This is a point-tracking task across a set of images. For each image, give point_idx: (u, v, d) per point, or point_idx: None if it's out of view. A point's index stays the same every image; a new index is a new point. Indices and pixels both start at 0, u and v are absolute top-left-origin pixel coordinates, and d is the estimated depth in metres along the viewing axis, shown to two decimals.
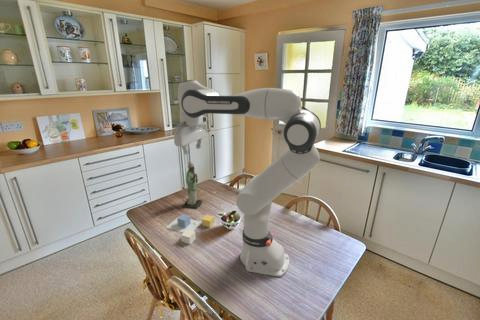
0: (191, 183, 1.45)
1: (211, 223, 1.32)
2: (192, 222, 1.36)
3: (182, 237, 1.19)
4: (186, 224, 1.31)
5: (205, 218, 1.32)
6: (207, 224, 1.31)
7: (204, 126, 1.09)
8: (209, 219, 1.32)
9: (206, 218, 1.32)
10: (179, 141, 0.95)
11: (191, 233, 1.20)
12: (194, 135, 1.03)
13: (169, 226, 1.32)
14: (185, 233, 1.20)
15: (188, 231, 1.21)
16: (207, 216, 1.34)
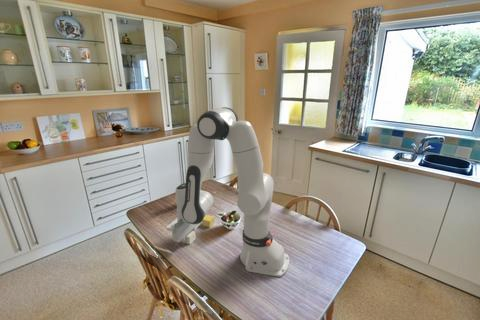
0: None
1: (211, 223, 1.32)
2: None
3: None
4: None
5: (205, 218, 1.32)
6: (207, 224, 1.31)
7: None
8: (209, 219, 1.31)
9: (206, 218, 1.32)
10: (176, 239, 1.10)
11: (191, 232, 1.20)
12: (189, 227, 1.17)
13: (169, 226, 1.32)
14: None
15: None
16: (207, 216, 1.34)
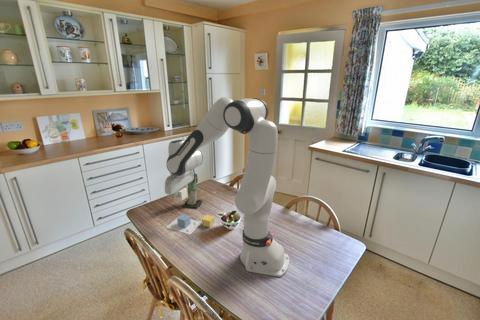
0: (191, 183, 1.45)
1: (211, 223, 1.32)
2: (192, 222, 1.36)
3: None
4: (186, 224, 1.31)
5: (205, 218, 1.32)
6: (207, 224, 1.31)
7: (191, 173, 1.29)
8: (209, 219, 1.31)
9: (206, 218, 1.32)
10: (169, 191, 1.16)
11: (183, 189, 1.26)
12: (181, 183, 1.23)
13: (169, 226, 1.32)
14: None
15: None
16: (207, 216, 1.34)
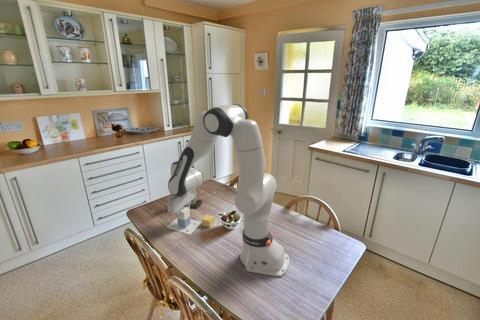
0: None
1: (211, 223, 1.32)
2: (192, 222, 1.36)
3: None
4: (186, 224, 1.31)
5: (205, 218, 1.32)
6: (207, 224, 1.31)
7: (192, 191, 1.34)
8: (209, 219, 1.31)
9: (206, 218, 1.32)
10: (171, 210, 1.20)
11: (185, 208, 1.31)
12: (184, 201, 1.27)
13: (169, 226, 1.32)
14: (180, 209, 1.30)
15: (183, 207, 1.32)
16: (207, 216, 1.34)
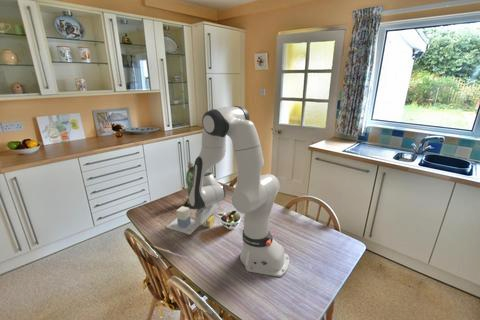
0: (191, 183, 1.45)
1: (211, 223, 1.32)
2: (192, 222, 1.36)
3: (177, 212, 1.29)
4: (186, 224, 1.31)
5: None
6: (207, 224, 1.31)
7: None
8: (209, 219, 1.31)
9: None
10: (199, 221, 1.23)
11: (185, 208, 1.31)
12: (209, 212, 1.30)
13: (169, 226, 1.32)
14: (180, 209, 1.30)
15: (183, 207, 1.32)
16: None
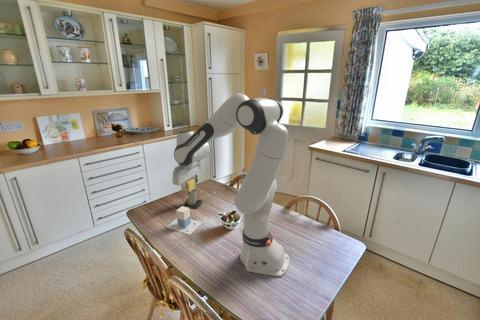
0: None
1: (191, 186, 1.25)
2: (192, 222, 1.36)
3: (177, 212, 1.29)
4: (186, 224, 1.31)
5: (185, 181, 1.25)
6: None
7: (198, 164, 1.29)
8: (189, 181, 1.24)
9: (186, 181, 1.25)
10: (176, 181, 1.15)
11: (185, 208, 1.31)
12: (189, 174, 1.23)
13: (169, 226, 1.32)
14: (180, 209, 1.30)
15: (183, 207, 1.32)
16: None
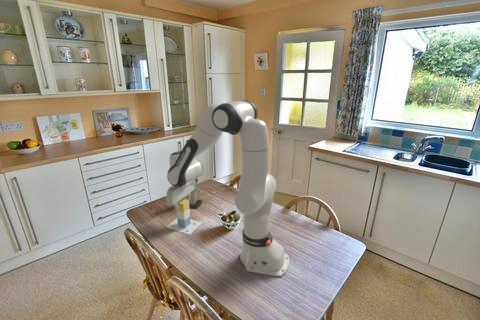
0: None
1: (185, 206, 1.28)
2: (192, 222, 1.36)
3: (177, 212, 1.29)
4: (186, 224, 1.31)
5: (179, 201, 1.28)
6: (181, 207, 1.27)
7: (192, 183, 1.32)
8: (183, 202, 1.27)
9: (180, 201, 1.28)
10: (170, 201, 1.18)
11: None
12: (183, 193, 1.26)
13: (169, 226, 1.32)
14: None
15: None
16: (181, 199, 1.30)
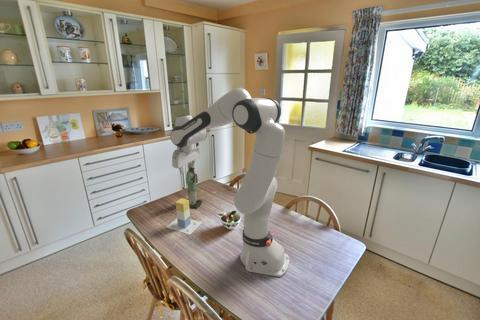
0: (191, 183, 1.45)
1: (185, 206, 1.28)
2: (192, 222, 1.36)
3: (177, 212, 1.29)
4: (186, 224, 1.31)
5: (179, 201, 1.28)
6: (181, 207, 1.27)
7: (197, 149, 1.32)
8: (183, 202, 1.27)
9: (180, 201, 1.28)
10: (176, 164, 1.18)
11: None
12: (188, 158, 1.26)
13: (169, 226, 1.32)
14: None
15: None
16: (181, 199, 1.30)
